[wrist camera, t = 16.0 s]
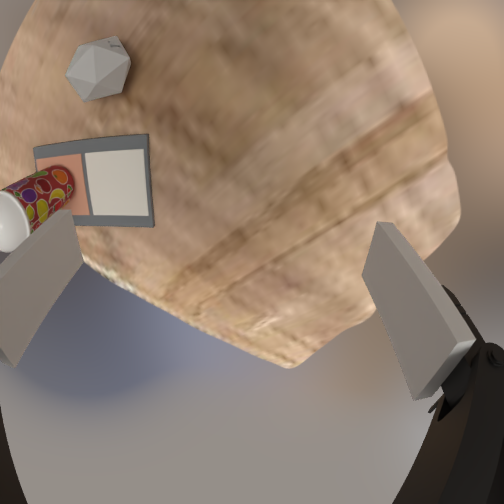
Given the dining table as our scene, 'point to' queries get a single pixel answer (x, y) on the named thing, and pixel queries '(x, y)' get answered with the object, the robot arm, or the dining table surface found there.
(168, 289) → the dining table surface
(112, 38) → the die
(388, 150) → the dining table surface
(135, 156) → the game board
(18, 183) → the smoothie
